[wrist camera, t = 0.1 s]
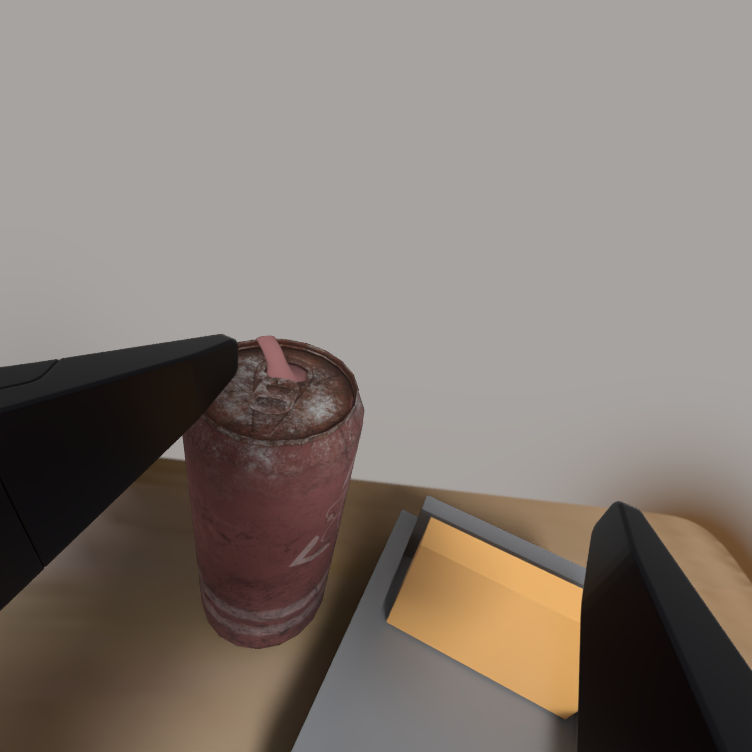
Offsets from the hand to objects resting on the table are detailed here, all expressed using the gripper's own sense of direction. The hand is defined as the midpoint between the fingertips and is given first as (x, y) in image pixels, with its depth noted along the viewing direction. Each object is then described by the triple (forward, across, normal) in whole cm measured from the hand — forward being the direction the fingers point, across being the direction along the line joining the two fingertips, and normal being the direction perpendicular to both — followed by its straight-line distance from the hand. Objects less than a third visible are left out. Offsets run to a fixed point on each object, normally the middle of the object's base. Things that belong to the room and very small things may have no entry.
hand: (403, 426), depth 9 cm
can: (+3, +5, +17) cm, 18 cm away
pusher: (+4, -6, +16) cm, 18 cm away
